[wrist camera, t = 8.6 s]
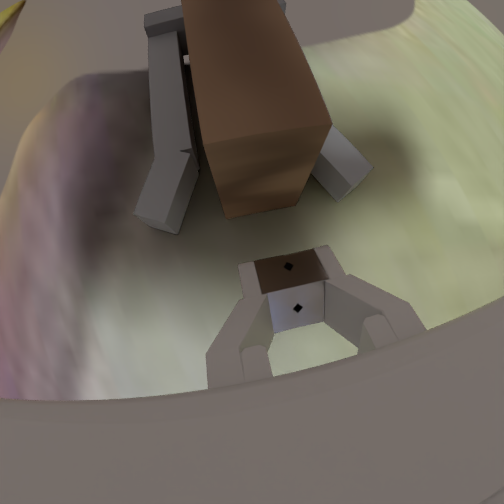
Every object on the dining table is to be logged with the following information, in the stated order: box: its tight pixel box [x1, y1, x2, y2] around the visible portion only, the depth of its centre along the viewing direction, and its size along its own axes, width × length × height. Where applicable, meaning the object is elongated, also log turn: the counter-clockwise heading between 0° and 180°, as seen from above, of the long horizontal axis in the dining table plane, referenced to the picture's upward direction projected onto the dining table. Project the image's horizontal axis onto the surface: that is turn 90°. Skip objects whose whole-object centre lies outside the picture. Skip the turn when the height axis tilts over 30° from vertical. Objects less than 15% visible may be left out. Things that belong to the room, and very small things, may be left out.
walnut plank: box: [181, 0, 333, 219], centre depth 13 cm, size 4×12×8 cm, turn 12°
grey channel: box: [133, 0, 374, 235], centre depth 15 cm, size 11×14×4 cm
